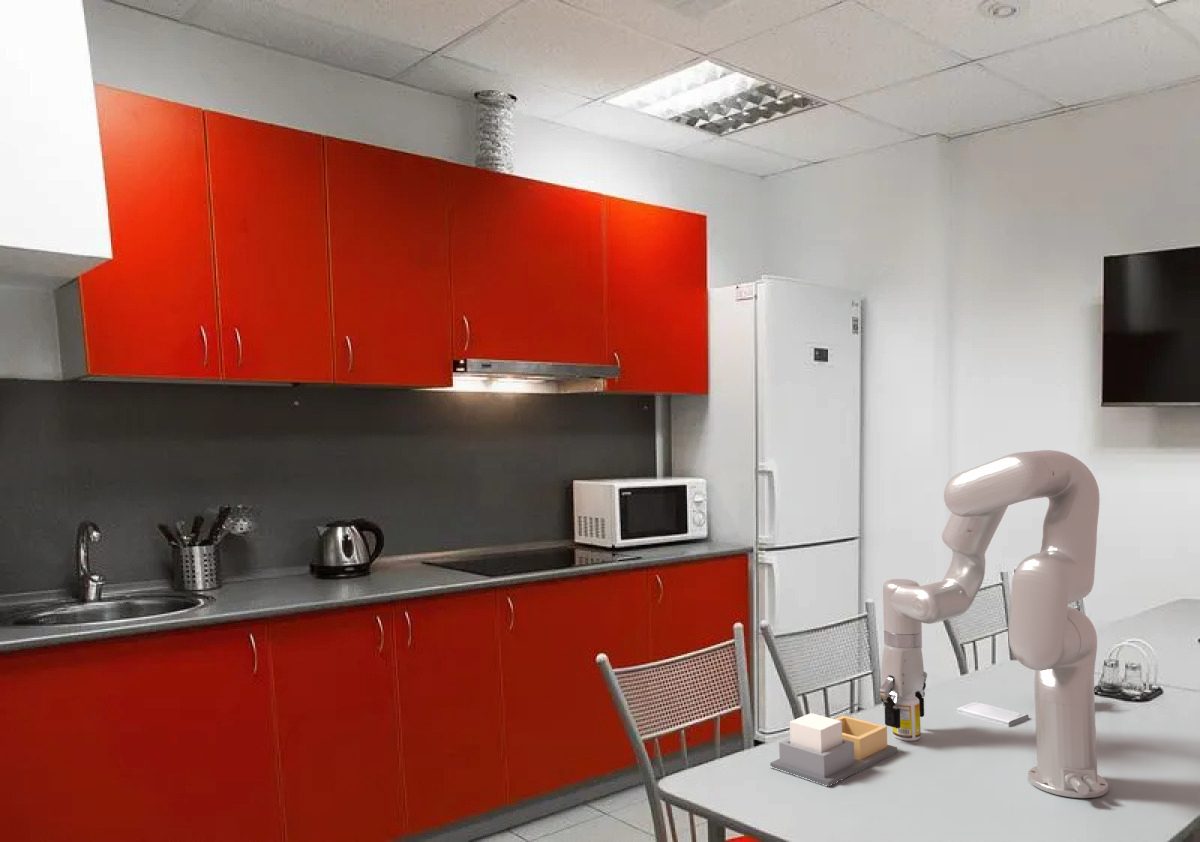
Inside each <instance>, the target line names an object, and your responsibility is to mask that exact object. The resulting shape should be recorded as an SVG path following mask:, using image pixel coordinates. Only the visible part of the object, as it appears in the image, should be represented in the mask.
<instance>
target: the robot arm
mask: <svg viewBox="0 0 1200 842" xmlns="http://www.w3.org/2000/svg"><path fill="white" fill-rule="evenodd" d="M1043 498H1047V500H1049V501H1048V503H1049V504H1048V508H1047V510H1046V513H1045V516H1044V519H1043V525H1042V541H1041V547H1040V551H1039V552H1037V553H1034V554H1030V555H1029V556H1026V557H1025V558H1024V559H1023V560H1022V561H1020V563H1019V564H1018V565H1017V566H1016V569H1015V571H1014V573H1013V576H1012V581H1011V590H1010V600H1009V601H1010V603H1009V616H1008V632H1007V633H1008V643H1009V646H1010V649H1011V652H1012V654H1013V656H1014V657H1015V658H1016V660H1017V661H1018V662H1019V663H1020V664H1021V665H1023V666H1024V667H1026V668H1027V669H1030V670H1034V681H1033V683H1034V684H1033V687H1034V716H1035V719H1034V720H1035V739H1036V740H1035V741H1036V763H1037V764H1036V765H1037V766H1033V767H1031V768H1030V769H1029V770H1028V774H1027V777H1028V781H1029V782H1030V784H1031V785H1033V787H1036V788H1038V789H1039V790H1042V791H1044V792H1046V793H1049V794H1053V795H1056V796H1062V797H1067V798H1073V799H1075V798H1076V799H1093V798H1099V797H1102V796H1104V795H1105V794H1107V793H1108V791H1109V784H1108V781H1107V780H1106V778H1105V779H1104V778H1103V777H1102V776H1101V775H1099V774H1098V759H1097V758H1098V756H1097V753H1098V752H1097V735H1096V734H1097V731H1096V730H1097V729H1096V710H1095V709H1096V706H1095V705H1096V703H1095V701H1096V700H1095V697H1096V696H1095V668H1096V660H1097V659H1096V658H1097V651H1098V635H1097V631H1096V628H1095V626H1094V624H1093V622H1092V620H1091V619H1090V618H1089V617H1088V616H1087V615H1086V614H1085V613H1083V612H1082V611H1080V610H1079V609H1077V608H1075V607H1071V606H1069V604H1072V603H1076V602H1077V601H1081V600H1083V599H1085V598H1086V597H1087V596H1088V595H1090V593H1091V592H1092V590H1093V587H1094V582H1095V570H1096V554H1097V543H1098V535H1097V534H1098V524H1099V523H1098V522H1099V513H1100V501H1101V500H1100V490H1099V485H1098V482H1097V479H1096V478H1095V476H1094V474H1093V473H1092V471H1091V470H1090V469H1089V467H1088V466H1087V465H1086V464H1085V463H1084V462H1083V461H1081V460H1080V459H1078V458H1077V457H1075V456H1073V455H1071V454H1069V453H1066V452H1063V451H1058V450H1050V449H1049V450H1047V449H1044V450H1043V449H1042V450H1034V451H1019V452H1014V453H1010V454H1008V455H1004V456H1001V457H999V458H997V459H993V460H991V461H988V462H986V463H983V464H981V465H978V466H975V467H972V468H970V469H967V470H964V471H961V472H959V473H957V474H955V475H954V476H952V477H951V478H950V479H949V481H948V482H947V483H946V485H945V488H944V491H943V499H944V500H943V501H944V503H945V506H946V507H947V509H948V510H949V511H950V512H951V514H950V516H949V519H948V520H947V522H946V525H945V527H944V529H943V531H942V534H941V537H942V538H941V539H942V542H943V543H944V544H945V545H946V547H948V548H949V549H950V550H952V558H951V562H950V564H949V567H948V569H947V571H946V573H945V575H944V578H943V579H942V581H938V582H933V583H930V584H924V585H920V584H919V583H918V582H917V581H914V580H913V579H903V578H894V579H889V580H886V581H885V582H884V584H883V586H882V599H883V600H882V604H883V606H882V607H883V636H884V637H883V640H884V641H883V643H884V645H883V646H884V647H883V651H882V658H881V669H880V670H881V671H880V688H879V695H880V697H881V698H880V699H881V702H882V705H883V707H884V724H885V725H886V727H889V728H891V727H892V728H893V727H894V728H900V709H899V708H898V706H899V703H900V700H901V698H903V697H906V696H908V695H910V694H911V693H912V691H913V690H915V697H917V698H918V699H919V704H920V718H922V717H925V696H926V692H925V689H926V687H927V684H926V683H927V678H928V673H927V672H926V671H925V670H924V669H925V668H924V657H923V652H922V650H923V638H922V637H923V634H922V633H923V632H922V631H923V630H922V628H923V627H922V623H923V624H928V625H930V624H931V625H932V624H937V623H940V622H944V621H947V620H949V619H953V618H957V617H960V616H962V615H963V614H965V613H966V612H967V611H968V610H969V608H971V606H972V604H973V602H974V600H975V598H976V597H977V595H978V592H979V591H980V589H981V587H982V584H983V582H984V578H985V574H986V573H985V572H986V555H985V554H986V552H987V549H988V548H989V545H990V544H991V541H992V539H993V537H994V535H995V533H996V531H997V529H998V527H999V525H1000V523H1001V522H1002V519H1003V517H1004V515H1005V514H1006V511H1007V509H1008V507H1009V506H1010V505H1014V504H1017V503H1020V502H1025V501H1028V500H1034V499H1043ZM895 692H898V693H895ZM892 697H895V701H893V700H892ZM885 725H884V726H885Z"/></svg>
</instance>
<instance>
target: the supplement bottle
mask: <svg viewBox="0 0 1200 842" xmlns="http://www.w3.org/2000/svg"><path fill="white" fill-rule="evenodd" d="M894 693H898V692H894ZM891 698H892V700H893V701H895V697H891ZM898 708H899V709H900V728H894V727H892V735H893V737H895V738H896V739H897V740H900V741H906V742H907V741H908V742H913V741H918V740H919V739H920V738H921V737H922V733H921V730H922V729H921V717H920V704H919V699H918V698H917V697H915V690H913V691H912V693H911V694H910V695H908V696H906V697H903V698H901V700H900V703H899V706H898Z"/></svg>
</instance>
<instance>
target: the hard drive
mask: <svg viewBox="0 0 1200 842" xmlns="http://www.w3.org/2000/svg"><path fill="white" fill-rule="evenodd" d="M955 713H956V714H959V715H963V716H966V717H970V718H974V719H977V720H981V721H984V722H989V723H992V724H997V725H1000V726H1004V727H1008V728H1009V727H1010V728H1011V727H1012V726H1015V725H1016V724H1021V723H1023V722H1024V721H1025V722H1026V721H1027V720H1029V718H1030V717H1029V714H1026V713H1022V712H1018V711H1014V710H1011V709H1007V708H1003V707H999V706H994V705H991V704H986V703H982V702H979V701H973V702H970V703H967V704H964V705H961V706H959V707H957V708H956V709H955Z"/></svg>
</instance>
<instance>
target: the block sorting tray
mask: <svg viewBox="0 0 1200 842" xmlns="http://www.w3.org/2000/svg"><path fill="white" fill-rule="evenodd" d="M778 743H779V744H778V745H779V746H778V748H779V749H778V750H779V751H778V752H779V758H778V759H776V760H774V761H771V762H770V766H772V767H774V768H777V769H780V770H783V771H786V772H789V773H792V774H795V775H798V776H801V777H804V778H807V779H810V780H812V781H815V782H818V783H821V784H824V785H827V786H830V785H831V784H834V783H836V782H837V781H840V780H841V779H844V778H846V777H848V776H849V775H852V774H854V773H856V772H858V771H859V772H862V771H863V770H865V769H867V768H870V767H871V766H873V765H875V764H877V763H879V762H881V761H883V760H885V759H886V758H889V757H890V756H893V755H894V754H897V753H898V747H897V746H894V745H891V744H890V745H889V744H888V726H887V725H886V726H885V725H882V724H879V723H875V722H874V723H873V722H871V721H867V720H864V719H863V720H862V719H859V718H854V717H851V716H847V715H841V716H839V717H836V718H830V717H828V716H824V715H820V714H816V713H812V712H809V713H808V714H805V715H803V716H800V717H798V718H796V719H793V720H790V721H789V738H787V739H784V740H782V741H780V742H778ZM864 768H865V769H864ZM862 769H863V770H862ZM859 772H858V773H859ZM856 774H857V773H856ZM854 775H855V774H854ZM852 776H853V775H852ZM848 778H849V777H848ZM846 779H847V778H846ZM844 780H845V779H844ZM840 782H841V781H840ZM836 784H837V783H836ZM834 785H835V784H834ZM830 787H831V786H830Z"/></svg>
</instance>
